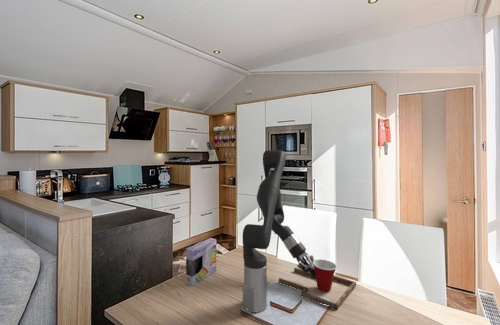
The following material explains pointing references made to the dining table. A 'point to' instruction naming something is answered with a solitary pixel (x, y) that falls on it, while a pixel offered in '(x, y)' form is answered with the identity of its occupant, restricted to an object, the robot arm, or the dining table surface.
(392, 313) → the dining table surface
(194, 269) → the cake pan box
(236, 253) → the dining table surface
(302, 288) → the T fence
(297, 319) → the dining table surface
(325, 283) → the plastic cup
